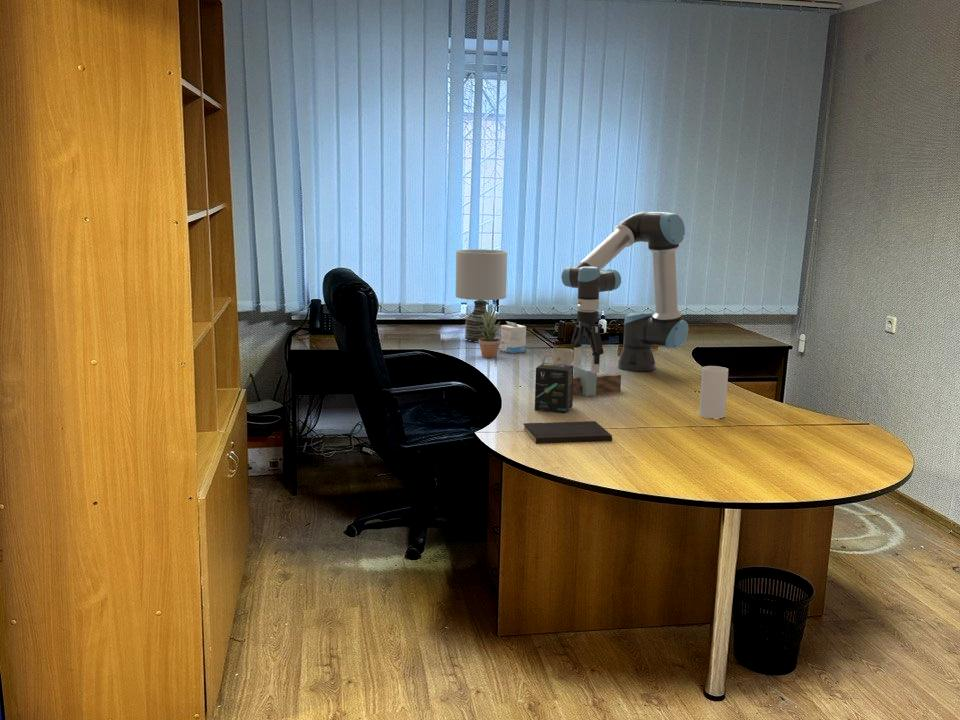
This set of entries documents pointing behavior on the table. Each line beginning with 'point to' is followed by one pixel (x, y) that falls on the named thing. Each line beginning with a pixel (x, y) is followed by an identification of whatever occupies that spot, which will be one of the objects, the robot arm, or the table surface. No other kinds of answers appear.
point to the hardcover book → (567, 432)
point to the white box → (513, 338)
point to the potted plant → (489, 335)
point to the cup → (713, 392)
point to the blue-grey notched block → (586, 380)
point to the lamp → (480, 284)
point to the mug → (560, 356)
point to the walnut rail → (600, 383)
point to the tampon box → (554, 388)
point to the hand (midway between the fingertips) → (586, 368)
